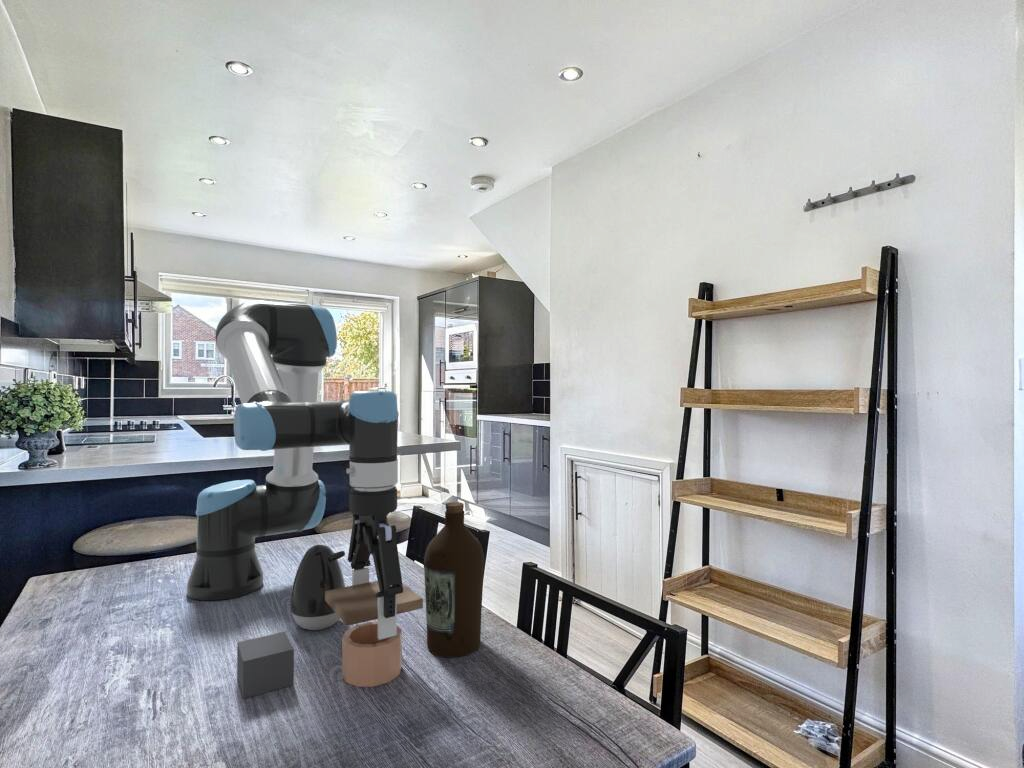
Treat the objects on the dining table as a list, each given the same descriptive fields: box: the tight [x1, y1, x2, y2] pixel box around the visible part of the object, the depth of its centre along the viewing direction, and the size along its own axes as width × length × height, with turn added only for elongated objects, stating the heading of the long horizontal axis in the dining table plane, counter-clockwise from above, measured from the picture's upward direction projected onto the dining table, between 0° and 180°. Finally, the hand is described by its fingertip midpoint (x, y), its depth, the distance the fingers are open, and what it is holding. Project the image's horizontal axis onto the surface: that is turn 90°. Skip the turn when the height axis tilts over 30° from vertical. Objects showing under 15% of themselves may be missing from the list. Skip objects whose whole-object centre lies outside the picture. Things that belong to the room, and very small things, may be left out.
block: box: [236, 631, 295, 700], centre depth 85 cm, size 7×7×6 cm
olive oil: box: [423, 501, 485, 658], centre depth 97 cm, size 11×11×25 cm
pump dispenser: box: [289, 544, 346, 631], centre depth 105 cm, size 10×10×15 cm
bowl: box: [341, 621, 403, 688], centre depth 88 cm, size 9×9×6 cm
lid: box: [325, 580, 424, 627], centre depth 88 cm, size 12×12×2 cm
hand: (373, 621), depth 88 cm, fingers closed on lid, 12 cm apart
